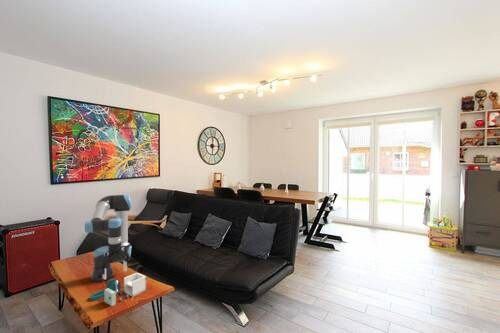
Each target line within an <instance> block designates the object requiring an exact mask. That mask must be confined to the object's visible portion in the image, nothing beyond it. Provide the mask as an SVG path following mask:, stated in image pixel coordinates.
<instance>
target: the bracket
mask: <svg viewBox="0 0 500 333" xmlns="http://www.w3.org/2000/svg"><path fill="white" fill-rule="evenodd" d="M116 280H117V279H115V278H109V279H108V281H107V282H106V288H104V289H101V290H99V291H97V292H94V293H91V294H90V295H89V296H90V297H89V300H90V301H92V302H94V301H99V300H101V299H104V290H105V289H107V288H109V289H111V290H113V291H115V290H116V286H115V282H116ZM117 282H118V286H117V290H118V292H120V291H121V289H122V288H121V284H122V283H121V281H119V280H117Z"/></svg>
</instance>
